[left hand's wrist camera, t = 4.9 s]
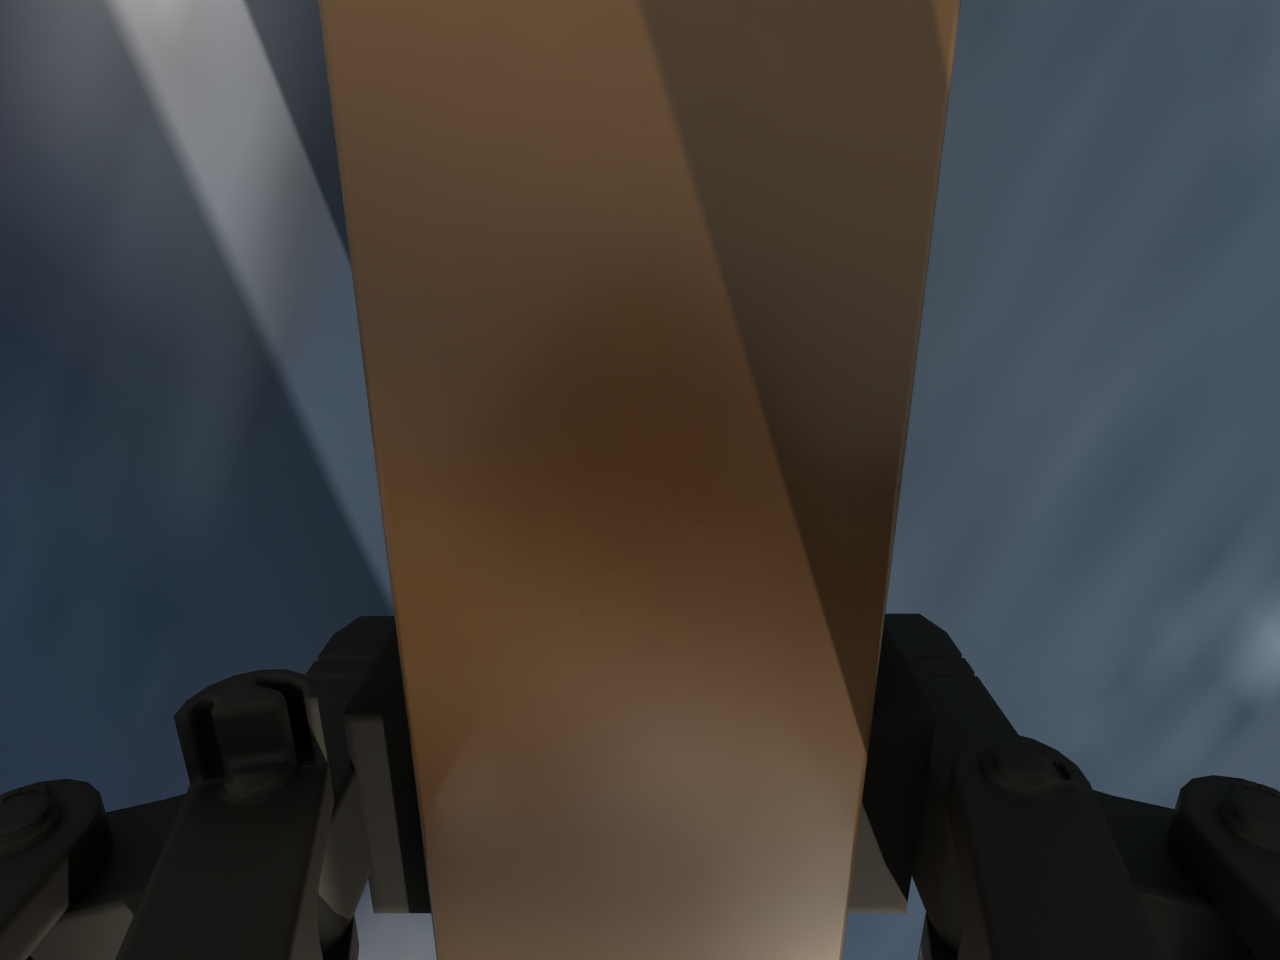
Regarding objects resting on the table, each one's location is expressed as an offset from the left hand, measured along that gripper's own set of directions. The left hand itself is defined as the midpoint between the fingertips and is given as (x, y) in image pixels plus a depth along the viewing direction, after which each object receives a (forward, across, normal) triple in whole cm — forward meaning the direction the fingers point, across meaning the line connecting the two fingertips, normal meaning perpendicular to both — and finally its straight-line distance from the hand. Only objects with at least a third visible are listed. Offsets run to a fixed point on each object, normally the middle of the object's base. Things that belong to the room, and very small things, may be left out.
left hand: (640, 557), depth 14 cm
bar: (+1, 0, -34) cm, 34 cm away
